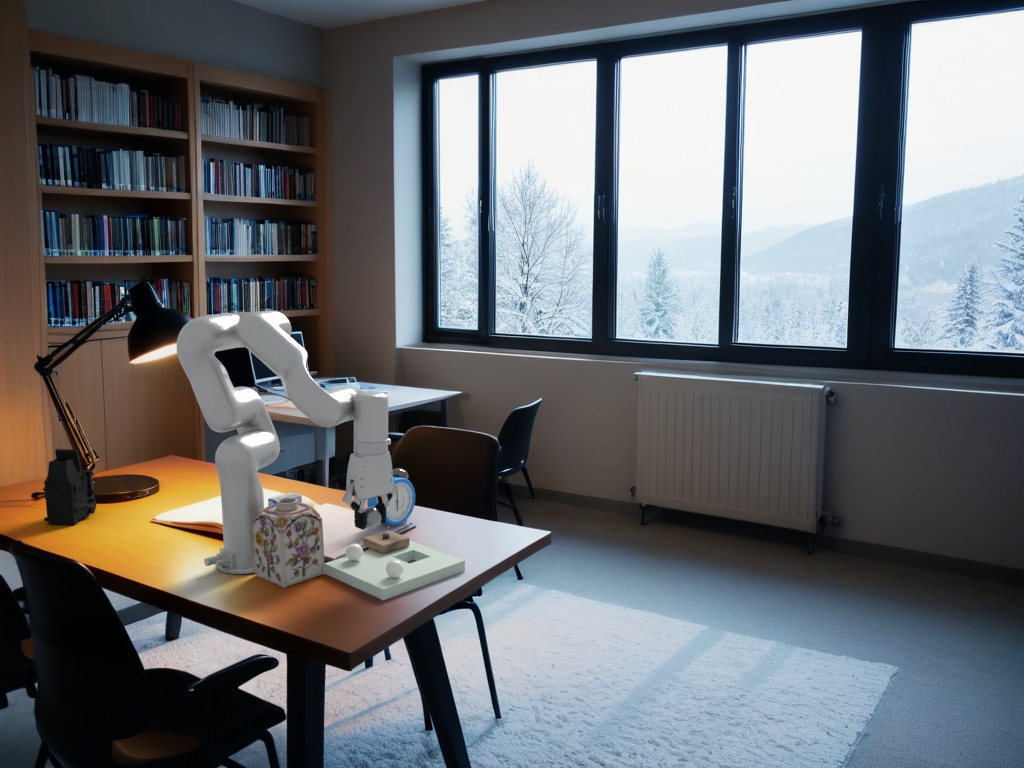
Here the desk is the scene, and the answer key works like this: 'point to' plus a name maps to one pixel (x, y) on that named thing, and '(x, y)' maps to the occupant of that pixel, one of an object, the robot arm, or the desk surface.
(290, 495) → the medicine box
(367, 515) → the ball
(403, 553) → the board
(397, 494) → the alarm clock
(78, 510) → the camera
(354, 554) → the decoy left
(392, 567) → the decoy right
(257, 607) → the desk surface
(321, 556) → the decorative jar
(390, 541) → the lid
